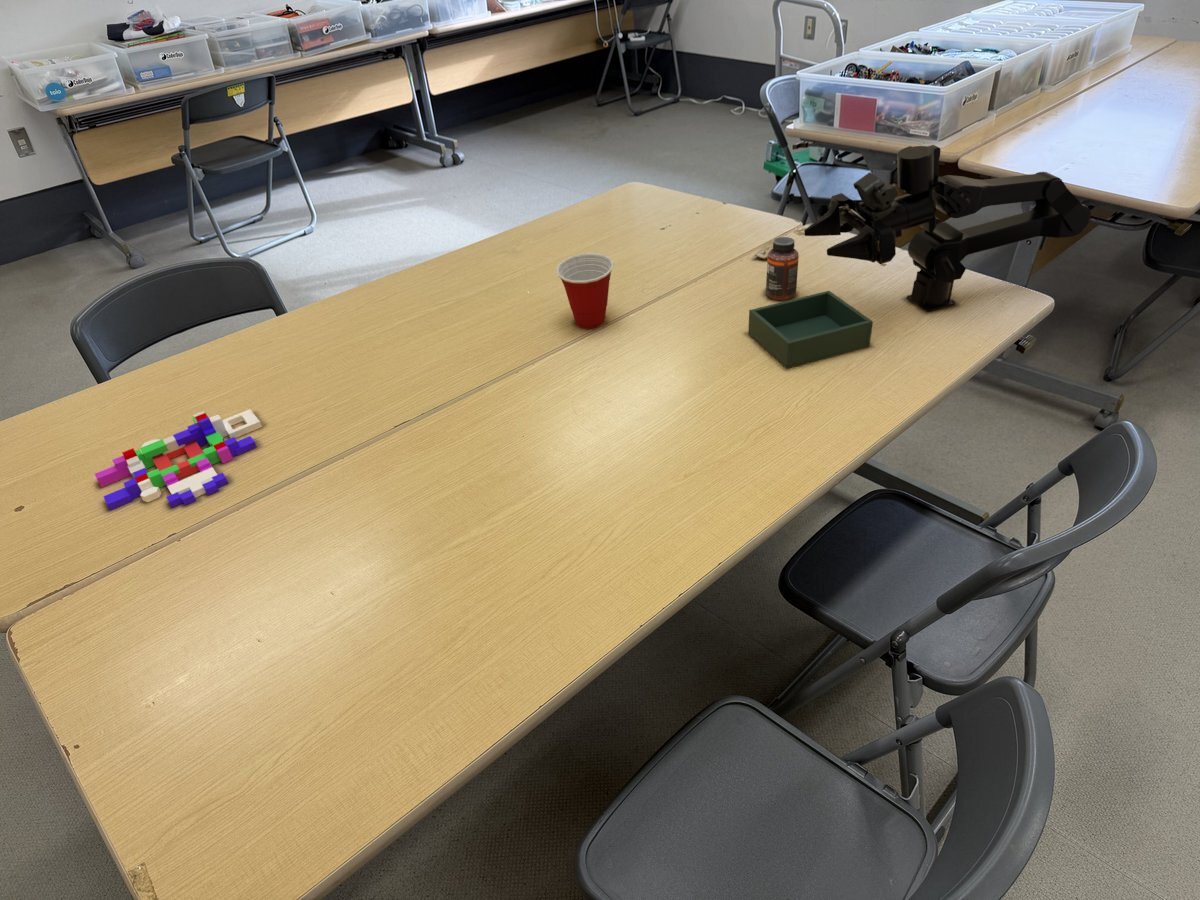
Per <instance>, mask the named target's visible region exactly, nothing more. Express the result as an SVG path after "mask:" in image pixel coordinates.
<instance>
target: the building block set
mask: <svg viewBox="0 0 1200 900" xmlns="http://www.w3.org/2000/svg"><path fill="white" fill-rule="evenodd" d="M191 418H192V422H193V423H192V424H191V425H188V426H186V428H187V429H185V430H182V431H179V432H176V433H174V434H172V435H170V436H168V437H166V438H164V439H163V438H162V439H156V438H154V439H152V440H149V441H146V442H144V443H143V444H142V445H141V446H140V448H138V449H136V450H135V449H134V448H133V447H132V448H130V449H128V450H125V451H122V452H121V453H122V455H121V456H118V457H116V458H113V459H112V463H113V465H112V466H110V467H108V468H106V469H102V470H100V471H98V472H96V473H94V476H95V478H96V479H95V480H97V482H98V483H99V485H100V487H101V488H103V487H107V486H109V485H111V484H113V483H116V482H118V481H121V480H123V479H125V478H128V477H131V476H132V479H129V480H127V481H123V483H122V484H123V486H124V487H123V488H120V489H118V490H115V491H112V492H111V493H107V494H105V495H103V496H102V497H103V499H104V502H105V503H106V506H107V508H108V510H109V511H113V510H115V509H117V508H119V507H121V506H124V505H127V504H128V503H131V502H134V499H136V498H139V497H140V498H141V499H142V501H143V502H145V503H150V502H152V501H154V500H157V499H159V498H160V497H161V496H162V491H161V489H160V488H162V487H164V486H166V487H167V489H168V490H169V492H170V494H169V495H167V496H165V498H166V499H167V501H168V503H169V505H170V507H171V509H173V508H176V507H178V506H180V505H184V506H187V505H191V504H193V503H195V502H197V499H196V498H198V497H200V496H203V495H205V494H206V495H207V496H210V495H212V494H215V493H218V492H219V491H220V489H219V488H221V487H223V486H226V485H227V484H229V481H228V479H227V477H226V475H225V474H224V472H221V473H217V471H216V470H215V468H214V467H213V465H215V464H217V463H220V462H221V463H222V464H226V463H228V462H231V461H234V457H235V456H241V455H242V454H245V453H247V452H249V451H252V450H253V449H256V448H258V447H257V443H256V442H255V440H254V439H253V437H252V436H251V435H248V436H247V437H244V438H241V439H239V440H237V439H236V438H239V437H242V436H244V435H246V434H248V433H251V432H253V431H255V430H259V429H261V428H263V426H262V423H261V421H260V419H258V417H257V416H256V415H255V414H254V412H253V411H252V410H251V409H250V408H249V409H246V410H244V411H242V412H240V413H237V414H234V415H231V416H230V417H227V418H224V419H222V417H221V416H220V414H216V415H213V416H211V417H209V416H208V415H207V413H206V412H205V410H203V411H199V412H196V413H194V414H193V415H192V417H191ZM242 422H244V423H245V424H243V425H240V426H238V427H236V428H233V427H232V426H234V425H238V424H239V423H242ZM227 436H228V437H229V438H228V439H224V438H226V437H227ZM205 445H209V447H206V448H204V449H202V448H201V447H203V446H205ZM184 454H186V455H187V457H188V459H186V460H183V461H181V462H178V463H176V464H174V465H173V463H172V462H171V459H174V458H177V457H179V456H181V455H184ZM152 467H156V469H153V470H151V471H148V470H147V469H149V468H152ZM190 475H191V476H190ZM183 478H184V479H183Z"/></svg>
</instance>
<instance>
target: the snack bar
mask: <svg viewBox="0 0 1200 900" xmlns="http://www.w3.org/2000/svg"><path fill="white" fill-rule="evenodd" d="M773 241H774V240H770V241H769V242H768V243H767V244H765V245H764V247H762V248H761V249H760V250H759V251H758V252H757V253H755V254H754V257H757V258H759V259H763V260H766V259H767V258H768V253H769V251H770V250H771V249H773Z"/></svg>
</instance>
